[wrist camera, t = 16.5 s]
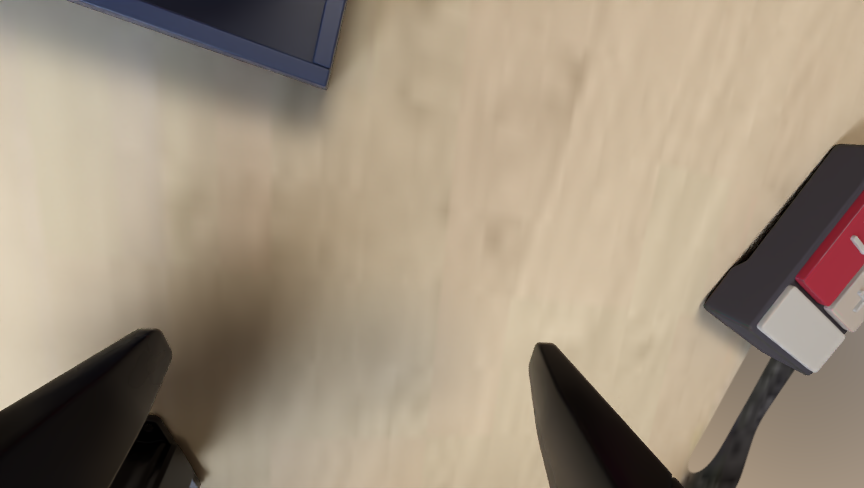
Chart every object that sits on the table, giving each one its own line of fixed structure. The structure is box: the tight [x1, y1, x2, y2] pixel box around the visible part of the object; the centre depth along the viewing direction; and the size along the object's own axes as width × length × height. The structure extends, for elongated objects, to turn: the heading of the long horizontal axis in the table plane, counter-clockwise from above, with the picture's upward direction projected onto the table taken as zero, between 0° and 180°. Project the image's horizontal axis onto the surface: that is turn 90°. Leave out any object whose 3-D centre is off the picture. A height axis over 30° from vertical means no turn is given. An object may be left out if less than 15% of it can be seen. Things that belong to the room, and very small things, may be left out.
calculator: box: [704, 144, 864, 375], centre depth 29 cm, size 11×4×15 cm
